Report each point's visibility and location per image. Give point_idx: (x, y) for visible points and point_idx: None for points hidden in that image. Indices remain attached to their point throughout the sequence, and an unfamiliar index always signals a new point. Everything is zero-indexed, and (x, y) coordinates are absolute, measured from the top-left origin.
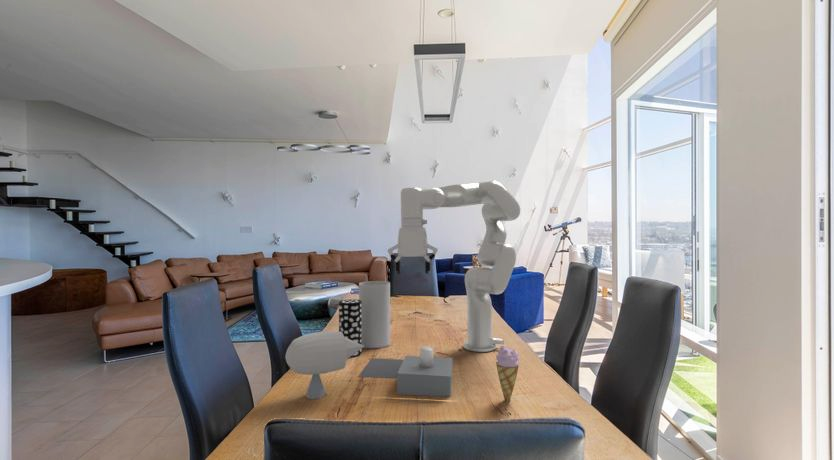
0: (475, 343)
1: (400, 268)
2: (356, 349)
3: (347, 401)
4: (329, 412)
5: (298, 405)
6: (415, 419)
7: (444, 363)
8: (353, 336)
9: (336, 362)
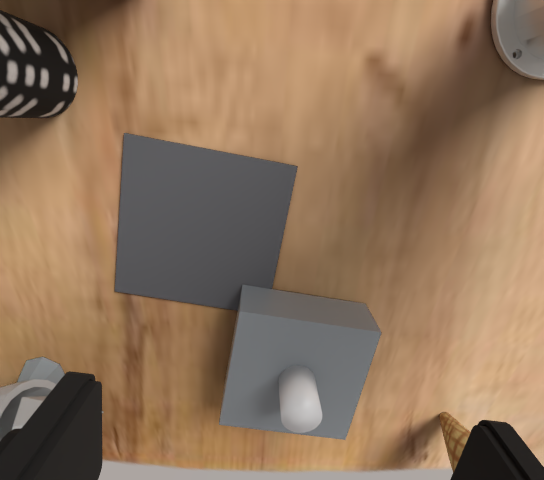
0: (542, 49)
1: (67, 446)
2: None
3: (123, 405)
4: None
5: None
6: (258, 468)
7: (348, 369)
8: (3, 113)
9: None
